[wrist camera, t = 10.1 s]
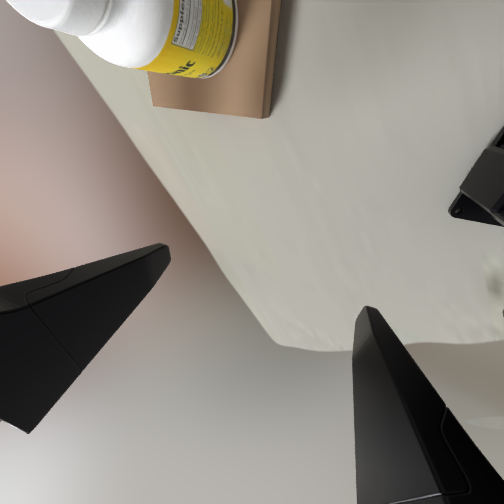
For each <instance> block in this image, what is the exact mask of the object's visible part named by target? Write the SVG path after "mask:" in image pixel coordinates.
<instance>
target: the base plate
mask: <svg viewBox="0 0 504 504" xmlns="http://www.w3.org/2000/svg"><path fill="white" fill-rule="evenodd" d="M236 1H237V8H238V31H237V37H236V42H235V46H234V49H233V52H232V54H231V57H230V58H229V60H228V62H227V64H226V65H225V66H224V68H223V69H222V70H221V71H220V72H218V73H217V74H215V75H214V76H211V77H209V78H191V77H184V76H177V75H171V74H164V73H158V72H152V71H148V77H149V83H150V89H151V95H152V102H153V106H157V107H165V108H174V109H182V110H191V111H200V112H208V113H217V114H226V115H234V116H243V117H252V118H260V119H262V118H268V117H269V113H270V104H271V94H272V84H273V75H274V65H275V55H276V45H277V36H278V26H279V16H280V7H281V0H236Z"/></svg>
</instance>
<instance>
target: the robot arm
mask: <svg viewBox="0 0 504 504" xmlns="http://www.w3.org/2000/svg"><path fill="white" fill-rule="evenodd" d="M460 190H461V191H460V192H459V194H458V195H457V197H456V198H455V200H454V201H453V203H452V204H451V206H450V207H449V210H448V212H449V214H450V215H451V216H452V217H455V218H460V219H465V220H470V221H476V222H481V223H486V224H492V225H497V226H502V227H504V127H503V128H502V130H501V131H500V133H499V134H498V136H497V137H496V139H495V140H494V142H493V143H492V145H491V146H490V147H488V148H487V149H485V150H484V151H483V153H482V154H481V156H480V157H479V159H478V160H477V162H476V163H475V165H474V166H473V168H472V169H471V171H470V172H469V174H468V175H467V177H466V178H465V180H464V181H463V183H462V184H461V186H460ZM458 208H462V210H461V211H460V212H455V210H456V209H458ZM170 261H171V257H170V251H169V247H168V246H167V245H166V244H162V243H157V244H154V245H151V246H147V247H143V248H140V249H137V250H133V251H130V252H126V253H123V254H119V255H116V256H112V257H109V258H105V259H102V260H98V261H95V262H91V263H88V264H85V265H81V266H78V267H76V268H71V269H67V270H64V271H60V272H56V273H53V274H49V275H45V276H41V277H37V278H33V279H29V280H25V281H20V282H16V283H12V284H8V285H4V286H0V422H1V421H4V422H6V423H8V424H10V425H12V426H14V427H16V428H17V429H19V430H21V431H23V432H25V433H27V434H29V433H30V432H31V431H32V430H33V429H34V428H35V427H36V426H37V425H38V424H39V422H40V421H41V420H42V419H43V418H44V416H45V415H46V414H47V413H48V412H49V411H50V409H51V408H52V407H53V406H54V405H55V403H56V402H57V401H58V400H59V399H60V397H61V396H62V395H63V394H64V393H65V392H66V390H67V389H68V388H69V387H70V385H71V384H72V383H73V382H74V381H75V380H76V378H77V377H78V376H79V375H80V374H81V372H82V371H83V370H84V369H85V368H86V366H87V365H88V364H89V363H90V362H91V360H92V359H93V358H94V357H95V356H96V355H97V353H98V352H99V351H100V349H101V348H102V347H103V346H104V345H105V344H106V343H107V341H108V340H109V339H110V338H111V337H112V335H113V334H114V333H115V332H116V331H117V330H118V328H119V327H120V326H121V325H122V324H123V322H124V321H125V320H126V319H127V318H128V317H129V315H130V314H131V313H132V312H133V311H134V309H135V308H136V307H137V306H138V305H139V304H140V302H141V301H142V300H143V299H144V298H145V296H146V295H147V294H148V293H149V292H150V290H151V289H152V288H153V287H154V285H155V284H156V282H157V281H158V279H159V278H160V277H161V275H162V274H163V272H164V271H165V269H166V268H167V266H168V265H169V263H170ZM503 316H504V310H503ZM352 372H353V400H354V429H355V458H356V487H357V504H504V480H503V479H502V478H501V476H500V475H499V474H498V473H497V472H496V470H495V469H494V468H493V466H492V465H491V464H490V463H489V461H488V460H487V459H486V457H485V456H484V455H483V454H482V452H481V451H480V450H479V449H478V447H477V446H476V445H475V443H474V442H473V441H472V439H471V438H470V437H469V435H468V434H467V433H466V431H465V430H464V429H463V427H462V426H461V425H460V423H459V422H458V420H457V419H456V418H455V416H454V415H453V414H452V412H451V411H450V409H449V408H448V407H446V404H445V403H444V401H443V400H442V398H441V397H440V396H439V394H438V393H437V391H436V390H435V389H434V387H433V386H432V385H431V383H430V382H429V380H428V379H427V378H426V377H425V375H424V373H423V372H422V371H421V369H420V368H419V366H418V365H417V364H416V362H415V361H414V359H413V358H412V357H411V355H410V354H409V352H408V351H407V350H406V348H405V347H404V346H403V344H402V343H401V341H400V340H399V339H398V337H397V336H396V334H395V333H394V332H393V330H392V329H391V327H390V326H389V325H388V323H387V322H386V320H385V319H384V318H383V316H382V315H381V314H380V312H379V311H378V310H377V309H376V308H373V307H370V306H364V307H363V309H362V311H361V312H360V314H359V315H358V317H357V319H356V323H355V333H354V344H353V355H352Z"/></svg>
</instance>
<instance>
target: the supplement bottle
mask: <svg viewBox="0 0 504 504" xmlns="http://www.w3.org/2000/svg"><path fill="white" fill-rule="evenodd" d="M7 1H8V3H9V4H10V5H11V6H12V7H13V8H14V9H16V10H17V11H18V12H19V13H20V14H21V15H23V16H24V17H25V18H27V19H28V20H30V21H32V22H34V23H35V24H37V25H40V26H43V27H46V28H50V29H54V30H58V31H61V32H65V33H67V34H71V35H76V36H78V37H79V38H80V40H81V41H82V42H83V43H84V44H85V45H86V46H88V47H89V48H90V49H91V50H92V51H93V52H94V53H96V54H97V55H98V56H100V57H101V58H103V59H105V60H107V61H109V62H111V63H113V64H116V65H119V66H123V67H127V68H133V69H140V70H146V71H152V72H158V73H164V74H171V75H177V76H184V77H191V78H209V77H211V76H214V75H215V74H217V73H218V72H220V71H221V70H222V69H223V68H224V66H225V65H226V64H227V62H228V60H229V58H230V57H231V54H232V52H233V49H234V46H235V42H236V37H237V31H238V8H237V1H236V0H7Z"/></svg>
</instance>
